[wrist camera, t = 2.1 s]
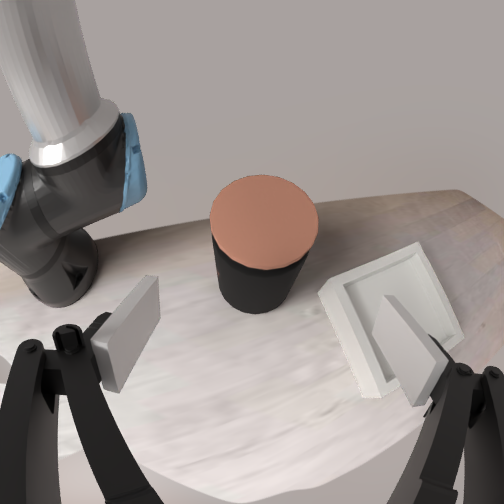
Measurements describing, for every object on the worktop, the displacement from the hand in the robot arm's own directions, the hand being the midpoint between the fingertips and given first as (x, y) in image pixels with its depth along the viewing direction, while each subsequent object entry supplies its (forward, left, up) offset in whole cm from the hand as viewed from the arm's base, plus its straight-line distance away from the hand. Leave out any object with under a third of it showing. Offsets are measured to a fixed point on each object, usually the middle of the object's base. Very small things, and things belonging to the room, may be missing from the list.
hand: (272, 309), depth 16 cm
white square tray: (+4, +22, -26) cm, 34 cm away
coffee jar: (-10, +4, -26) cm, 28 cm away
